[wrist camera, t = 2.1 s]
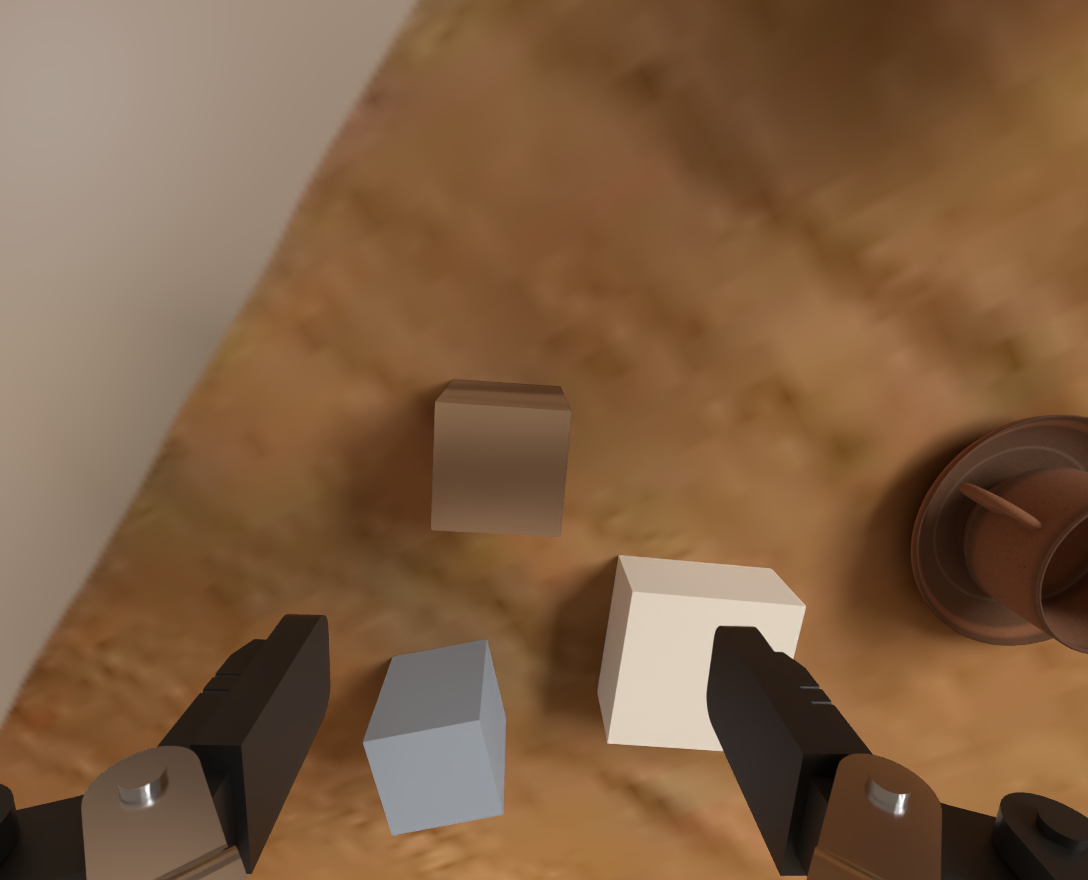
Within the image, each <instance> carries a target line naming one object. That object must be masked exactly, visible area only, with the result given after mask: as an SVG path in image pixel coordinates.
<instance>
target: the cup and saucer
mask: <svg viewBox="0 0 1088 880" xmlns="http://www.w3.org/2000/svg"><path fill="white" fill-rule="evenodd" d="M911 563H912V570H913V574H914V578H915V581H916V584H917V587H918V589H919V591H920V593H921V595H922V597H923V598H924V600H925V601H926V603H927V604H928V606H929V607H930V608H931V610H932V611H933V612H934V613H935V614H936V616H937V617H938V618H939V619H940V620H942V621H943V622H944V623H945V624H946V625H947V626H949V627H950V628H951V629H953V630H954V631H956V632H958V633H959V634H961V635H963V636H966V637H968V638H970V639H973V640H976V641H979V642H983V643H988V644H993V645H1006V646H1015V645H1026V644H1032V643H1038V642H1042V641H1046V640H1049V639H1052V638H1054V639H1056V640H1057V641H1059V642H1060V643H1062V644H1063V645H1065V646H1067V647H1069V648H1071V649H1073V650H1076V651H1079V652H1082V653H1086V654H1088V417H1081V416H1074V415H1048V416H1038V417H1032V418H1027V419H1023V420H1019V421H1016V422H1013V423H1010V424H1007V425H1005V426H1002V427H1000V428H998V429H996V430H994V431H992V432H990V433H988V434H986V435H984V436H983V437H981V438H979V439H978V440H976V441H975V442H973V443H972V444H971V445H969V446H968V447H967V448H966V449H964V450H963V451H962V452H961V453H959V454H958V455H957V456H956V457H955V458H954V459H953V460H952V461H951V462H950V463H949V464H948V465H947V466H946V467H945V469H944V470H943V471H942V472H941V473H940V475H939V476H938V477H937V479H936V480H935V481H934V483H933V484H932V486H931V487H930V489H929V491H928V492H927V494H926V496H925V498H924V500H923V502H922V504H921V507H920V509H919V511H918V514H917V517H916V520H915V524H914V528H913V533H912V540H911Z"/></svg>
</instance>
